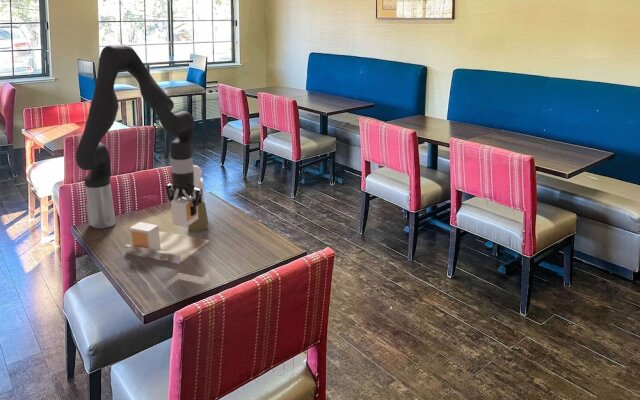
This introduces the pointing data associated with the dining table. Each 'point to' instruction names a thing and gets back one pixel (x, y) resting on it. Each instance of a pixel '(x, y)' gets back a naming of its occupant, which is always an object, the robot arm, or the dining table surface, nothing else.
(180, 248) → the shelf board
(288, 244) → the dining table surface
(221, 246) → the dining table surface
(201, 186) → the white figurine
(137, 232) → the faced carton
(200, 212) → the squeeze bottle
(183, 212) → the turned carton
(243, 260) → the dining table surface
